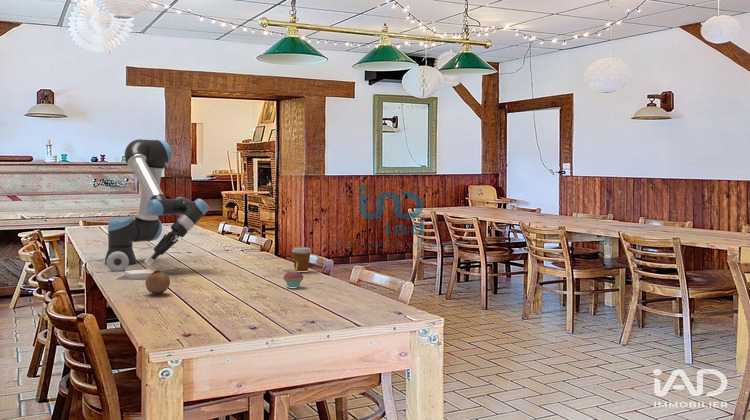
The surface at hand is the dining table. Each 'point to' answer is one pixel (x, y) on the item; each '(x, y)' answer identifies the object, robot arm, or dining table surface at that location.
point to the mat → (139, 278)
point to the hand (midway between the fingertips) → (146, 263)
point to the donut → (114, 256)
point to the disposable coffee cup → (301, 258)
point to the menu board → (138, 273)
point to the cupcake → (293, 278)
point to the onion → (157, 282)
